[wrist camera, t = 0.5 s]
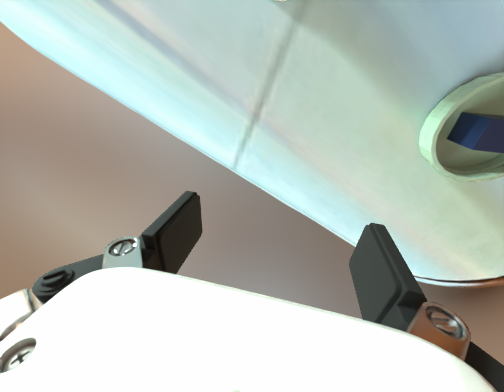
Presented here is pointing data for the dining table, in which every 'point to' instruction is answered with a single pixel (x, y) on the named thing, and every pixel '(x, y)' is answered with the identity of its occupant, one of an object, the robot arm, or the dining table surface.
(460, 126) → the navy blue block
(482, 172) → the bowl
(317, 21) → the dining table surface
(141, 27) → the dining table surface
